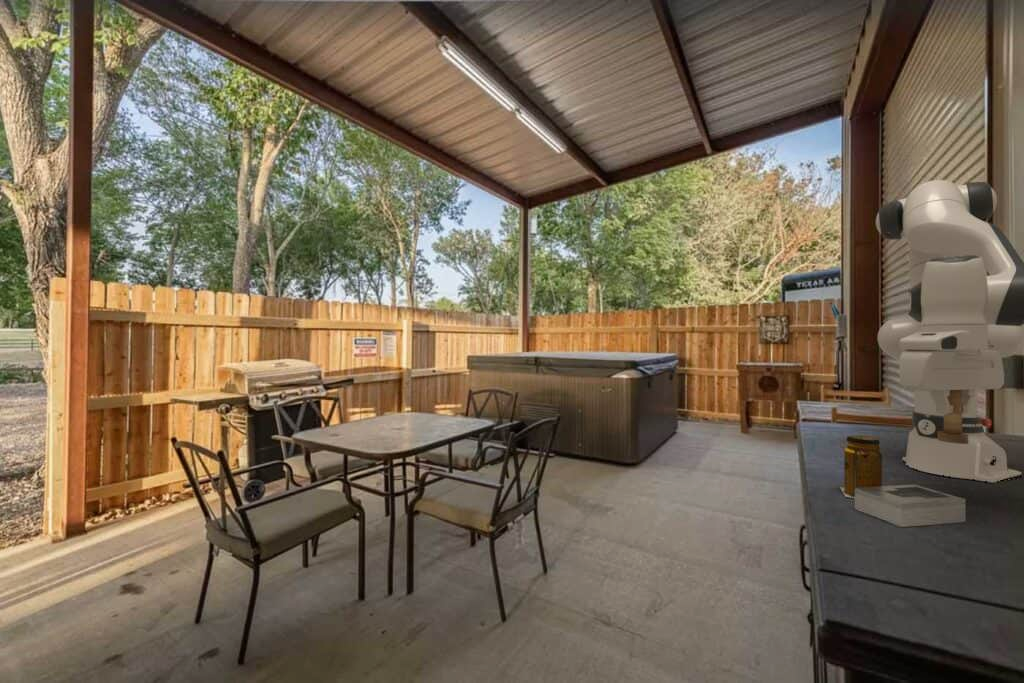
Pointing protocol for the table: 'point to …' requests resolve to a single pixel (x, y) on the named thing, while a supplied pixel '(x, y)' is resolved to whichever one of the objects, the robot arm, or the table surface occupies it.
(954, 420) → the peg
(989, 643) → the table surface
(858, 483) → the condiment
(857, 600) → the table surface
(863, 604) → the table surface
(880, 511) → the keyhole plate
